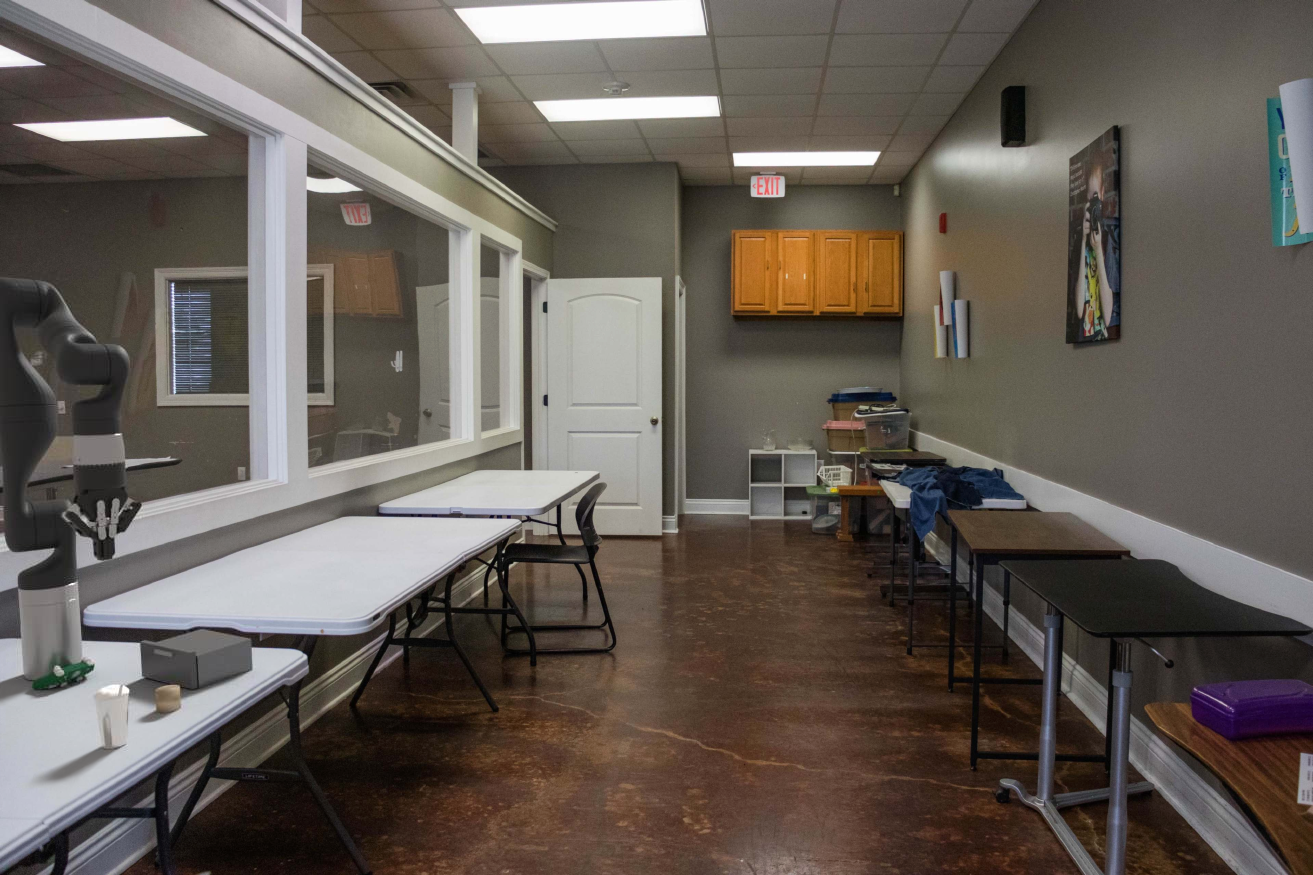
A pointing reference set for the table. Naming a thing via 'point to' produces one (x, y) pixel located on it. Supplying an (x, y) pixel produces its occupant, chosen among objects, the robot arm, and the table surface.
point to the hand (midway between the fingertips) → (105, 559)
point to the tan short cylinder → (168, 698)
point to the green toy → (65, 674)
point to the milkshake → (112, 715)
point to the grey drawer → (168, 664)
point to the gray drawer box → (215, 654)
